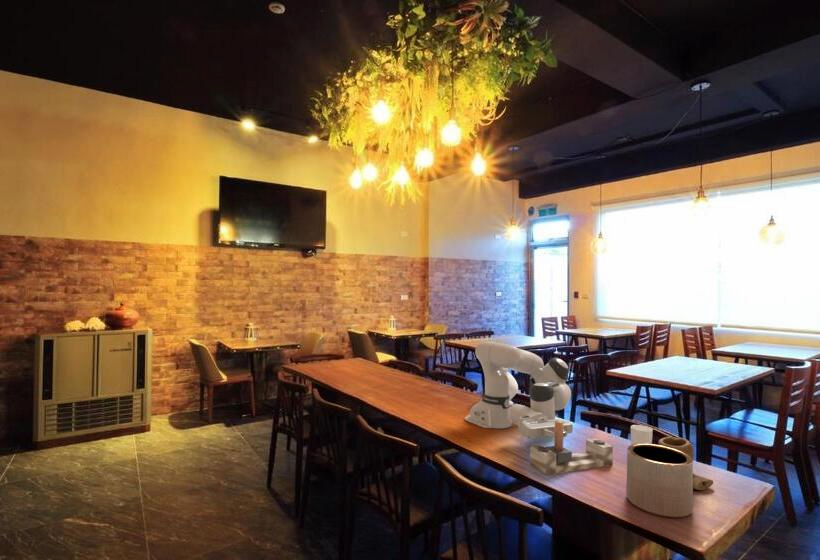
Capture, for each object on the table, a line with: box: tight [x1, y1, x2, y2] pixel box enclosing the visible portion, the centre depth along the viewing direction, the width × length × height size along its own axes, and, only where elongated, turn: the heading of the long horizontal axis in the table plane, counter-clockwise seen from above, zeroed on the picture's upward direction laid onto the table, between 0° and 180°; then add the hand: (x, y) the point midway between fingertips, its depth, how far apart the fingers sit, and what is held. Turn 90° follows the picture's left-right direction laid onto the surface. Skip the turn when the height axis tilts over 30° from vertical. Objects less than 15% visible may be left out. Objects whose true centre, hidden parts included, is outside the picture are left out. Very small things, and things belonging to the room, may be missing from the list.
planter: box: [625, 443, 694, 519], centre depth 134 cm, size 18×18×16 cm
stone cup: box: [657, 436, 714, 491], centre depth 149 cm, size 15×12×15 cm
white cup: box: [630, 424, 654, 445], centre depth 176 cm, size 8×8×10 cm
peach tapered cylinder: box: [545, 421, 573, 464], centre depth 160 cm, size 6×7×14 cm
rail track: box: [529, 438, 614, 476], centre depth 162 cm, size 30×9×7 cm, turn 110°
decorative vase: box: [502, 367, 519, 406], centre depth 248 cm, size 18×18×25 cm
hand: (560, 435), depth 160 cm, fingers closed on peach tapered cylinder, 3 cm apart
